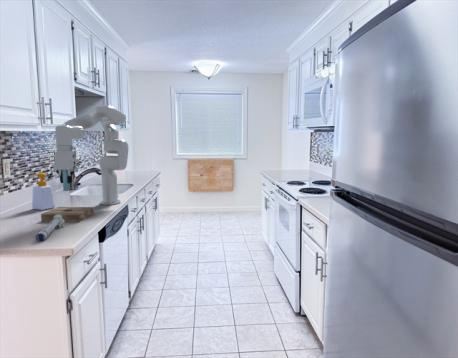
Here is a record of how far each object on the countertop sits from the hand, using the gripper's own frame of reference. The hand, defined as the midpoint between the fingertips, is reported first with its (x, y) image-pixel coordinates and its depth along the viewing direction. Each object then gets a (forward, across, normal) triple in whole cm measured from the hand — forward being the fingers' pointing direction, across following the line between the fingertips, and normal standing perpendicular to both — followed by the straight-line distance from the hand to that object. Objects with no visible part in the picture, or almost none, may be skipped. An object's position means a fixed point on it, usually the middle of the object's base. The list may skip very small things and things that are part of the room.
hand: (66, 182), depth 172 cm
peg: (+4, 0, 0) cm, 4 cm away
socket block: (+19, 0, 0) cm, 19 cm away
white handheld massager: (+20, -6, +27) cm, 34 cm away
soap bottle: (+19, +27, -19) cm, 38 cm away
